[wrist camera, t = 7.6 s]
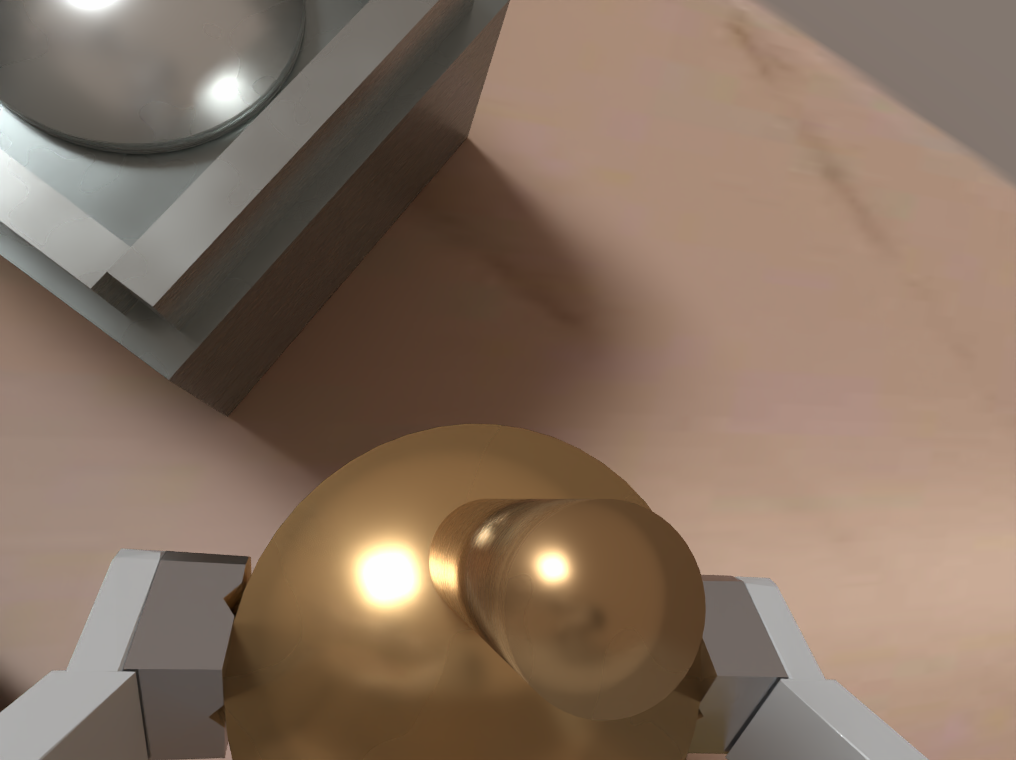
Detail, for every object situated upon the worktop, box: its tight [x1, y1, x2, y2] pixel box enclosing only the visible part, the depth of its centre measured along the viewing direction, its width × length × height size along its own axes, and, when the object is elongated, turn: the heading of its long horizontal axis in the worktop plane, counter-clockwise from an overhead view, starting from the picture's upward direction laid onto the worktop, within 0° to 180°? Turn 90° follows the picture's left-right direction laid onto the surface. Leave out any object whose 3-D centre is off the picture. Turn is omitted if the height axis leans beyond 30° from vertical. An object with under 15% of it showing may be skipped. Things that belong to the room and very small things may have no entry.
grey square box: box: [0, 0, 510, 417], centre depth 18 cm, size 12×12×9 cm
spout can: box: [224, 424, 706, 760], centre depth 10 cm, size 6×6×12 cm
